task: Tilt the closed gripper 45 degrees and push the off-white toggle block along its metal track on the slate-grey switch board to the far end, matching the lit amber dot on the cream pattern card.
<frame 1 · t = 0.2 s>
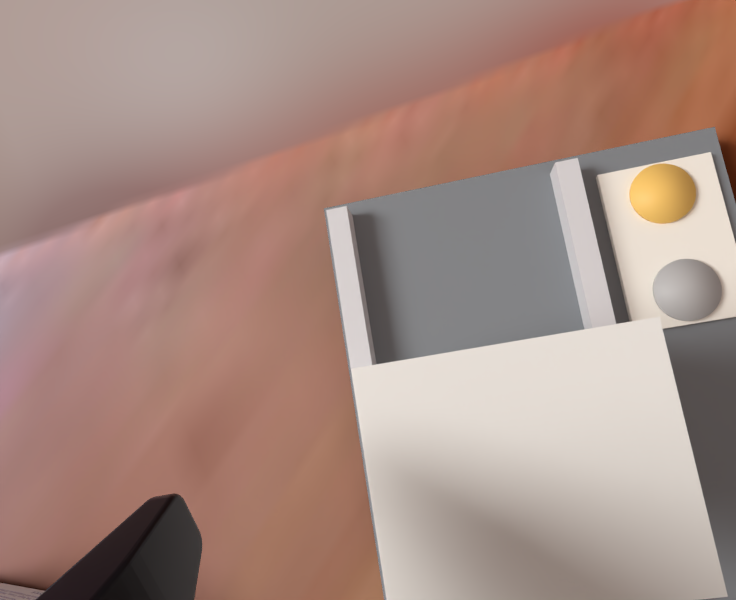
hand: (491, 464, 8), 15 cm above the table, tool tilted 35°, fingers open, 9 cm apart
switch board: (552, 400, 22), on the table
toggle: (508, 461, 15), point 7 cm above the table, slide at 0.0 cm
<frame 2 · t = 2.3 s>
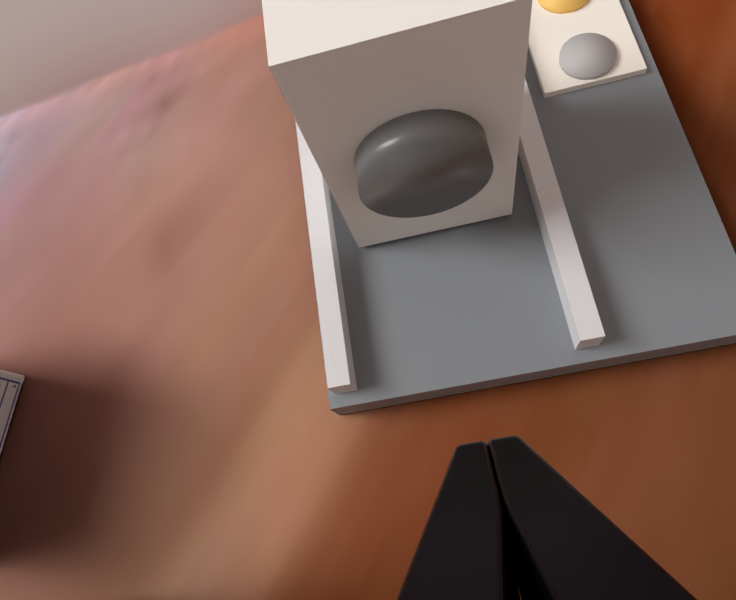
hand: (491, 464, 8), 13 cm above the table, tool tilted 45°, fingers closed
switch board: (482, 175, 24), on the table
toggle: (409, 105, 18), point 7 cm above the table, slide at 0.0 cm
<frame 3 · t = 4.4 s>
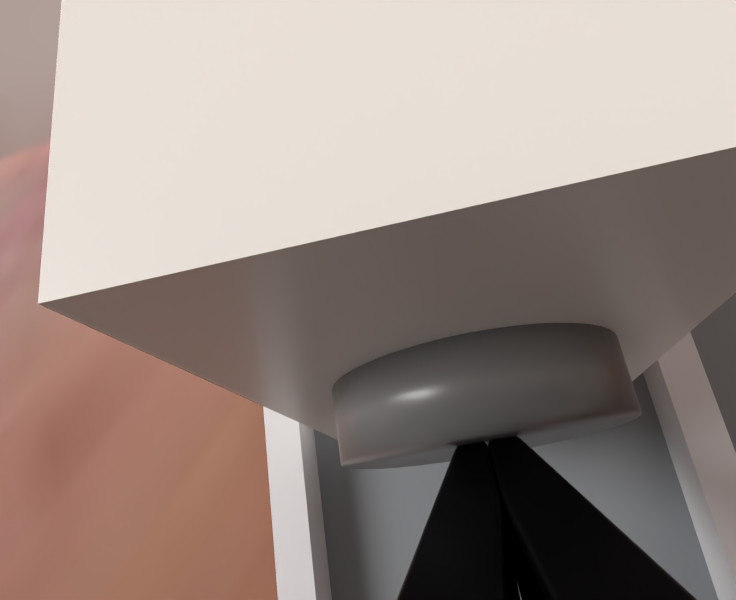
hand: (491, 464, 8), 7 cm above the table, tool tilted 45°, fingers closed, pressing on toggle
switch board: (561, 361, 15), on the table
toggle: (444, 254, 9), point 7 cm above the table, slide at 1.6 cm, touching gripper
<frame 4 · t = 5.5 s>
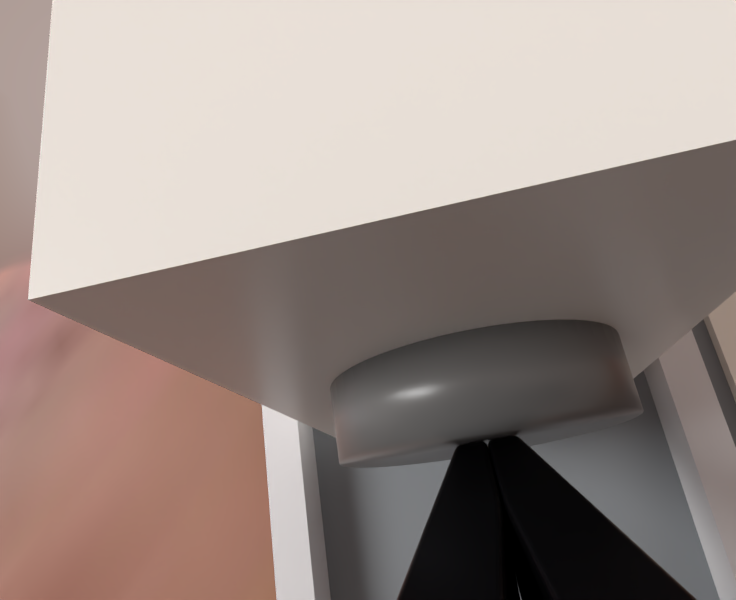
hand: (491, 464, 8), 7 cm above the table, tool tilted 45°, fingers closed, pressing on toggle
switch board: (620, 568, 13), on the table
toggle: (444, 250, 9), point 7 cm above the table, slide at 6.6 cm, touching gripper
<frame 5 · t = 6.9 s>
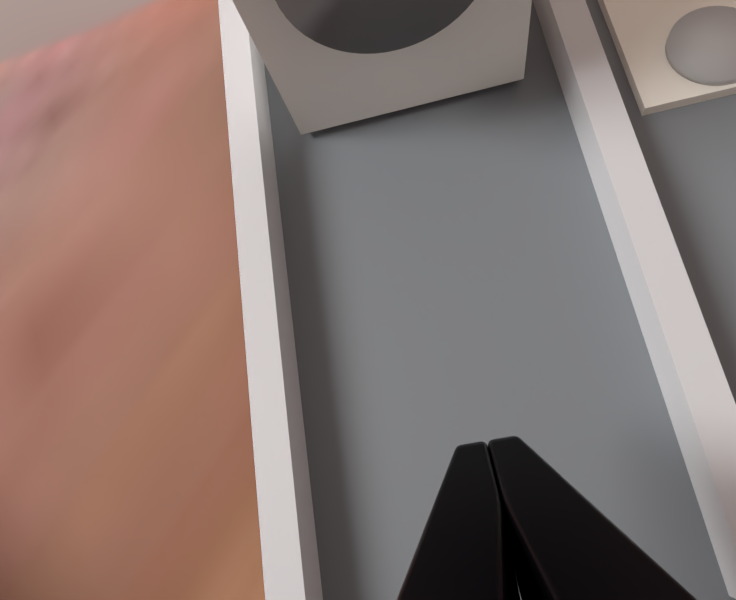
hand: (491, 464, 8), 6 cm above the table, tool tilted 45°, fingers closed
switch board: (533, 239, 15), on the table
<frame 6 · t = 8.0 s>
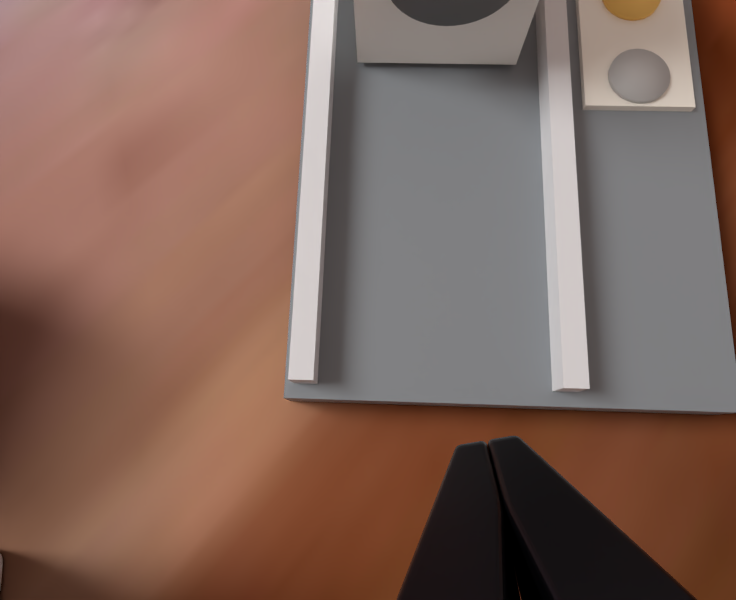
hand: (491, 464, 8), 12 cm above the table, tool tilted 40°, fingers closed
switch board: (495, 175, 22), on the table
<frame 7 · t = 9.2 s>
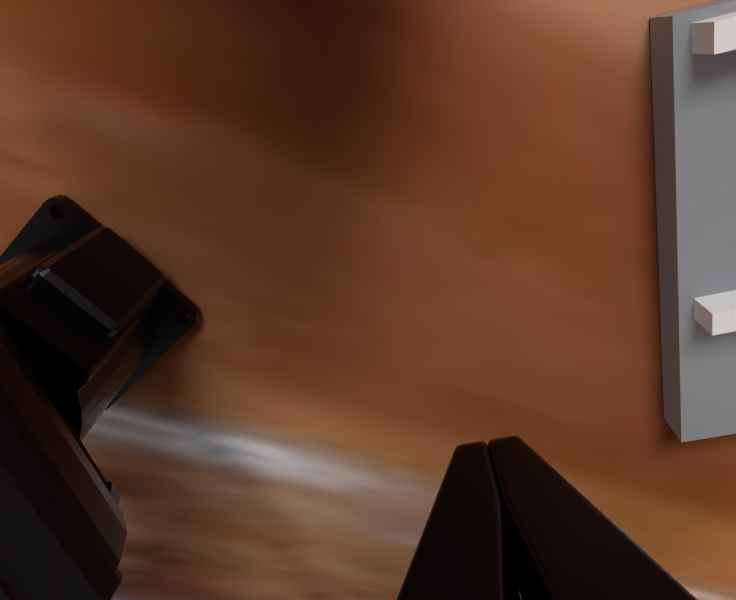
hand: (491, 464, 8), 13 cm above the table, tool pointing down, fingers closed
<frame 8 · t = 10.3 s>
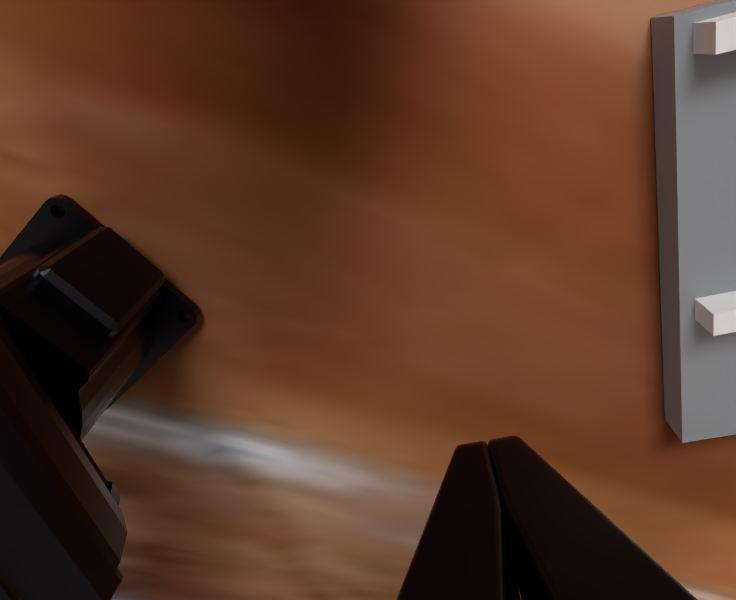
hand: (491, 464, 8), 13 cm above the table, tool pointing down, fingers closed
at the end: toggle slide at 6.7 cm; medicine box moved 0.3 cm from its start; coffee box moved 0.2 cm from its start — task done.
